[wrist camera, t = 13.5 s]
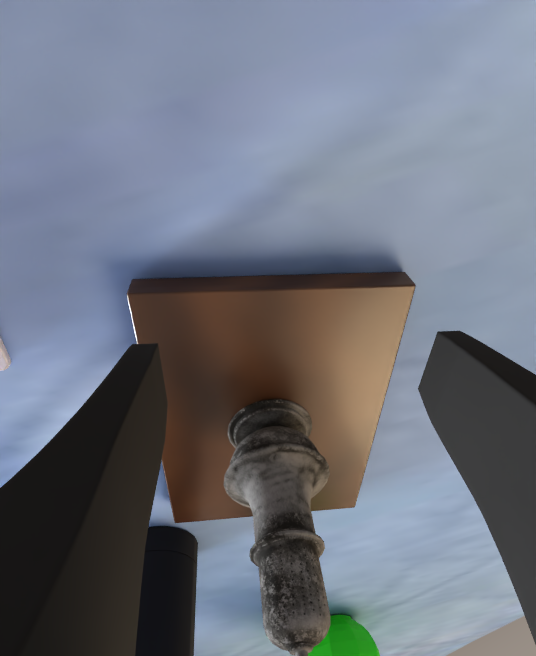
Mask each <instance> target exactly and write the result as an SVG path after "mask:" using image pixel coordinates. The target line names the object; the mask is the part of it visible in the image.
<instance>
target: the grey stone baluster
mask: <svg viewBox="0 0 536 656" xmlns="http://www.w3.org/2000/svg"><path fill="white" fill-rule="evenodd" d="M311 430H312V420H311V417H310V415H309V414H308V412H307V411H306V410H305V409H304V408H303V407H302V406H300V405H298V404H296V403H294V402H292V401H287V400H282V399H268V400H263V401H258V402H255V403H253V404H250V405H247V406H246V407H244V408H243V409H241V410H240V411H238V412H237V413H236V414H235V416H234V417H233V418H232V419H231V421H230V423H229V425H228V437H229V440H230V442H231V444H232V445H233V446H234V447H235V448H236V450H235V451H234V454H233V456H232V458H231V461H230V466H229V468H228V469H227V471H226V473H225V475H224V487H225V490H226V493H227V494H228V495H229V496H230V497H231V498H232V499H233V500H234V501H236V502H237V503H239V504H241V505H243V506H246V507H249V508H251V510H252V514H253V521H254V534H255V544H254V545H253V546H252V548H251V549H250V559H251V561H252V562H253V563H254V564H255V565H256V566H258V567H259V576H260V588H261V601H262V613H263V625H264V629H265V632H266V635H267V637H268V638H269V640H270V641H271V642H272V643H273V644H274V645H276V646H277V647H279V648H281V649H283V650H287V651H289V652H290V654H292V655H296V656H308V653H310V652H311V651H312V650H313V647H315V646H316V645H318V644H319V643H320V642H321V641H322V640H323V639H324V638H325V637H326V635H327V633H328V630H329V628H330V612H329V607H328V602H327V597H326V592H325V587H324V582H323V577H322V572H321V567H320V562H319V557H320V556H321V555H322V553H323V551H324V549H325V546H324V541H323V540H322V539H321V537H320V536H318V535H316V534H315V529H314V524H313V519H312V514H311V509H310V501H311V498H312V497H314V496H315V495H316V494H317V493H319V492H320V491H321V490H322V488H323V487H324V486H325V484H326V483H327V481H328V478H329V475H330V472H329V465H328V463H327V461H326V459H325V458H324V456H322V455H321V454H320V453H319V451H318V450H317V448H316V446H315V445H314V444H313V443H312V441H311V440H310V439H309V438H308V437H309V435H310V434H311Z"/></svg>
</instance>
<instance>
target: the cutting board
mask: <svg viewBox="0 0 536 656" xmlns="http://www.w3.org/2000/svg"><path fill="white" fill-rule="evenodd" d="M415 287H416V285H415V284H414V282H413V281H412V280H411V279H410V278H409V276H408V275H407V274H406V273H405V272H382V273H345V274H308V275H271V276H234V277H197V278H160V279H133V280H132V281H131V284H130V287H129V289H128V292H127V299H128V303H129V308H130V313H131V318H132V322H133V327H134V332H135V337H136V341H137V344H151V343H158V346H159V352H160V359H161V365H162V371H163V377H164V383H165V389H166V395H167V401H168V408H167V423H166V435H165V443H164V449H163V454H162V459H161V460H162V464H163V469H164V474H165V479H166V483H167V488H168V493H169V498H170V502H171V507H172V512H173V517H174V521H175V523H182V522H194V521H205V520H216V519H228V518H239V517H250V516H253V514H252V510H251V508H249V507H246V506H243V505H241V504H239V503H237V502H236V501H234V500H233V499H232V498H231V497H230V496H229V495H228V494H227V493H226V490H225V487H224V475H225V473H226V471H227V469H228V468H229V466H230V461H231V458H232V456H233V454H234V451H235V450H236V448H235V447H234V446H233V445H232V444H231V442H230V440H229V437H228V425H229V423H230V421H231V419H232V418H233V417H234V416H235V414H236V413H237V412H238V411H240V410H241V409H243V408H244V407H246V406H247V405H250V404H253V403H255V402H258V401H263V400H268V399H282V400H287V401H292V402H294V403H296V404H298V405H300V406H302V407H303V408H304V409H305V410H306V411H307V412H308V414H309V415H310V417H311V420H312V430H311V434H310V435H309V437H308V438H309V439H310V440H311V441H312V443H313V444H314V445H315V446H316V448H317V450H318V451H319V453H320V454H321V455H322V456H324V458H325V459H326V461H327V463H328V465H329V472H330V475H329V478H328V481H327V483H326V484H325V486H324V487H323V488H322V490H321V491H320V492H319V493H317V494H316V495H315V496H314V497H312V498H311V501H310V509H311V511H318V510H330V509H341V508H352V507H355V504H356V501H357V497H358V494H359V490H360V486H361V483H362V479H363V475H364V472H365V468H366V464H367V461H368V457H369V454H370V450H371V446H372V443H373V439H374V435H375V432H376V428H377V425H378V421H379V417H380V414H381V410H382V406H383V403H384V399H385V396H386V392H387V388H388V385H389V381H390V377H391V374H392V370H393V367H394V363H395V359H396V356H397V352H398V348H399V345H400V341H401V338H402V334H403V330H404V327H405V323H406V319H407V316H408V312H409V309H410V305H411V301H412V298H413V294H414V290H415Z"/></svg>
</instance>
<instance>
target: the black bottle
mask: <svg viewBox="0 0 536 656" xmlns="http://www.w3.org/2000/svg"><path fill="white" fill-rule="evenodd" d="M197 550H198V542H197V541H196V539H195V537H194V536H193V535H191V534H190V533H189V532H187V531H184V530H181V529H179V528H172V527H151V528H148V532H147V539H146V545H145V553H144V563H143V573H142V583H141V593H140V604H139V616H138V627H137V638H136V650H135V656H194V629H195V603H196V577H197Z"/></svg>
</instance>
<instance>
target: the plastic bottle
mask: <svg viewBox="0 0 536 656" xmlns="http://www.w3.org/2000/svg"><path fill="white" fill-rule="evenodd" d="M308 656H380V654H379V650H378V648H377V646H376V644H375V642H374V640H373V638H372V637H371V635H370V633H369V632H368V631H367V630H366V629H365V628H364V627H363V626H362V625H360V624H359V623H357V622H356V621H355V620H352V619H351V617H350V616H346V615H341V614H340V615H332V616H330V628H329V630H328V633H327V635H326V637H325V638H324V639H323V640H322V641H321V642H320V643H319V644H318V645H316V646H315V647H313V650H312V651H311V652H310V653H308Z"/></svg>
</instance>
